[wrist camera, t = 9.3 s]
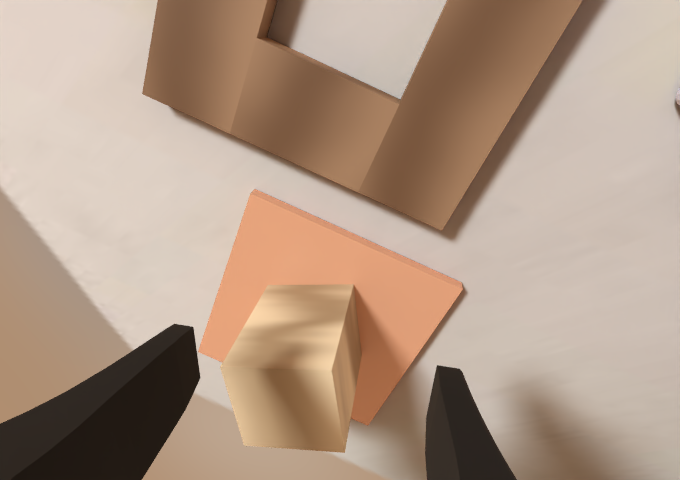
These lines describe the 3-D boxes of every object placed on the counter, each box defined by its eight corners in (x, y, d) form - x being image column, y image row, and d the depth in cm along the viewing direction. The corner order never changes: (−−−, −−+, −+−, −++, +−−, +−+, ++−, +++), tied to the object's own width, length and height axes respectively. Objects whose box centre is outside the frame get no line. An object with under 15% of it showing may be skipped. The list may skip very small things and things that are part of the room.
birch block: (353, 284, 21) (331, 370, 16) (361, 354, 23) (344, 452, 18) (268, 284, 22) (219, 366, 17) (282, 352, 24) (243, 445, 19)
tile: (461, 282, 21) (462, 289, 20) (368, 417, 26) (367, 425, 25) (255, 189, 20) (250, 193, 20) (202, 345, 26) (198, 351, 25)
